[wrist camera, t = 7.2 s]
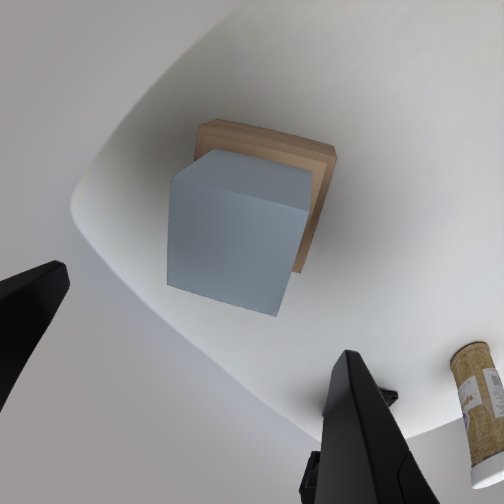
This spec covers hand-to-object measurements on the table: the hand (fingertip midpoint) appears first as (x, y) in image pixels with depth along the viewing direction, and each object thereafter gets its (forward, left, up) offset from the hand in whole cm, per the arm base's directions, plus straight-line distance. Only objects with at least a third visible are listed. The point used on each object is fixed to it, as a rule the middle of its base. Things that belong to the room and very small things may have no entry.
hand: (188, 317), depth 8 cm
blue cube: (0, 0, -9) cm, 9 cm away
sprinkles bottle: (-10, -23, -12) cm, 28 cm away
